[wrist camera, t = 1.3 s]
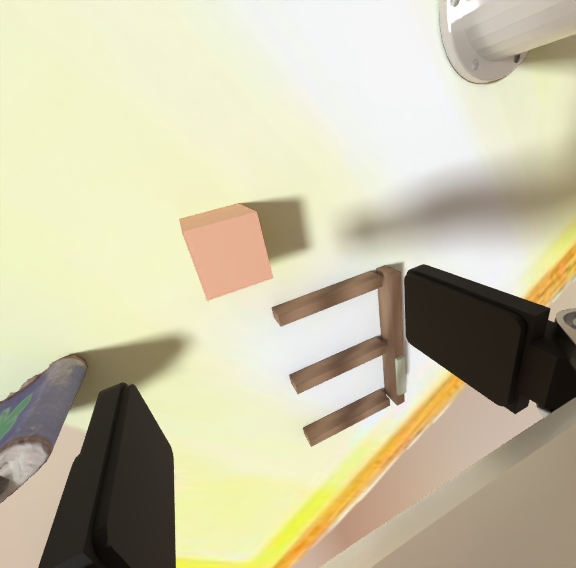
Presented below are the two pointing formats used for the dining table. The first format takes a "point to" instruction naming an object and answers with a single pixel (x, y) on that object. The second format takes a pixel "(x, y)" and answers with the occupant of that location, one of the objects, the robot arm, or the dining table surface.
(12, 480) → the dark blue pouch
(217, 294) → the block
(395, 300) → the comb rack
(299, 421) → the dining table surface
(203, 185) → the dining table surface
